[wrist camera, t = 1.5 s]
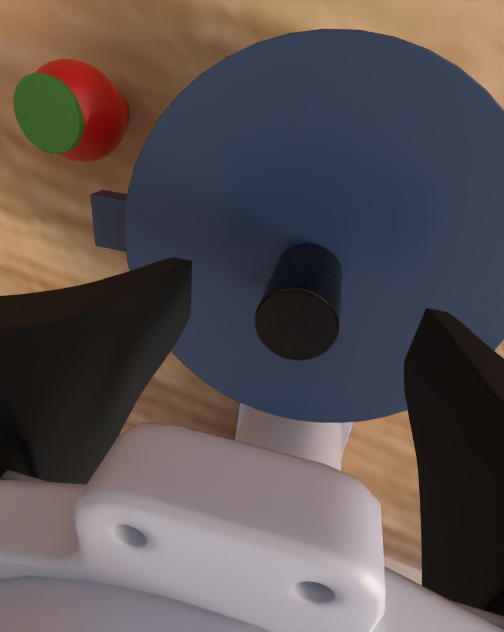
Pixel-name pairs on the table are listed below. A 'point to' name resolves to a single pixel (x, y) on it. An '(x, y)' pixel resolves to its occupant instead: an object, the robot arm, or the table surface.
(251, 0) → the table surface
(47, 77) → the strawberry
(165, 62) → the table surface
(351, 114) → the lid
